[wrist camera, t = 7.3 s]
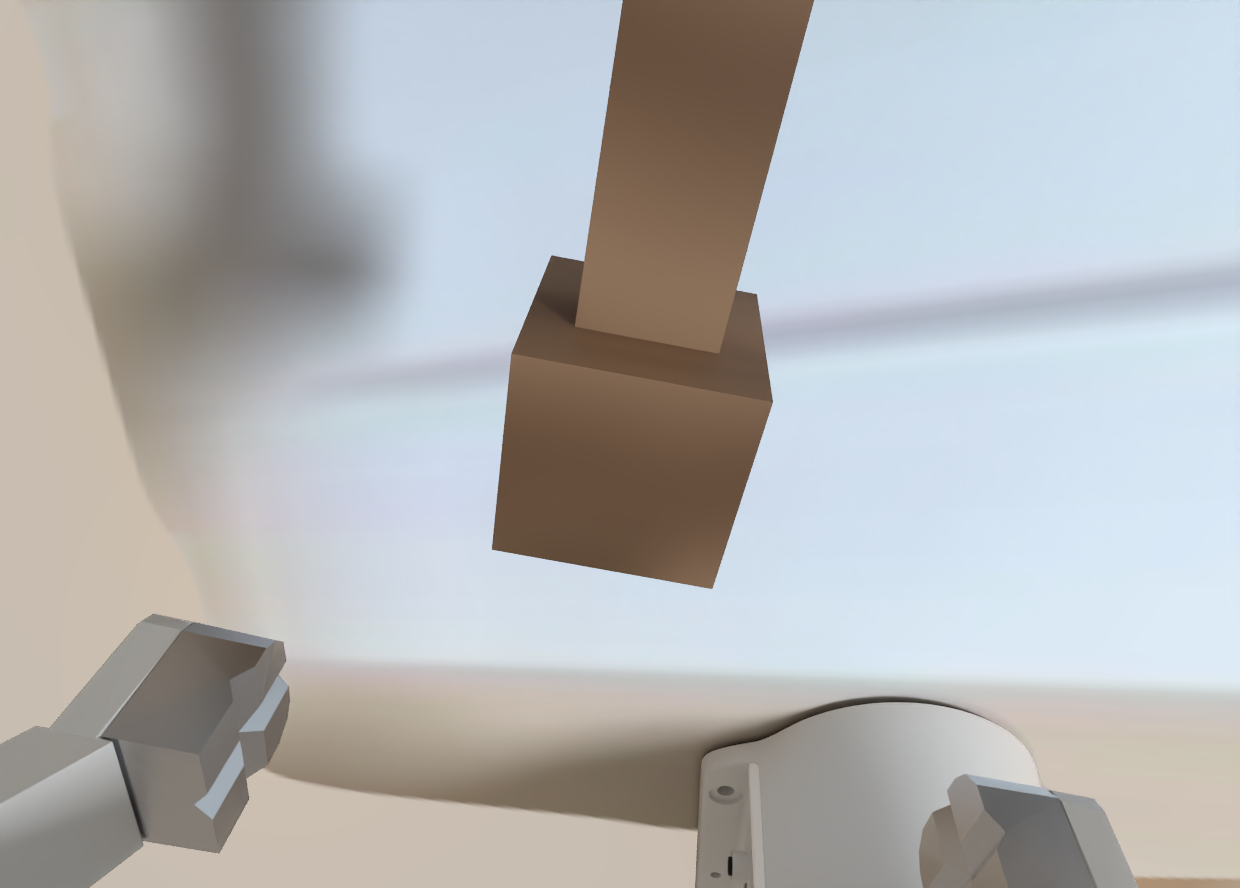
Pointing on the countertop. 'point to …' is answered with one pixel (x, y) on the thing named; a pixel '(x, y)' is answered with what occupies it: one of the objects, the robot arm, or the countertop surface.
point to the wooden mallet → (655, 307)
